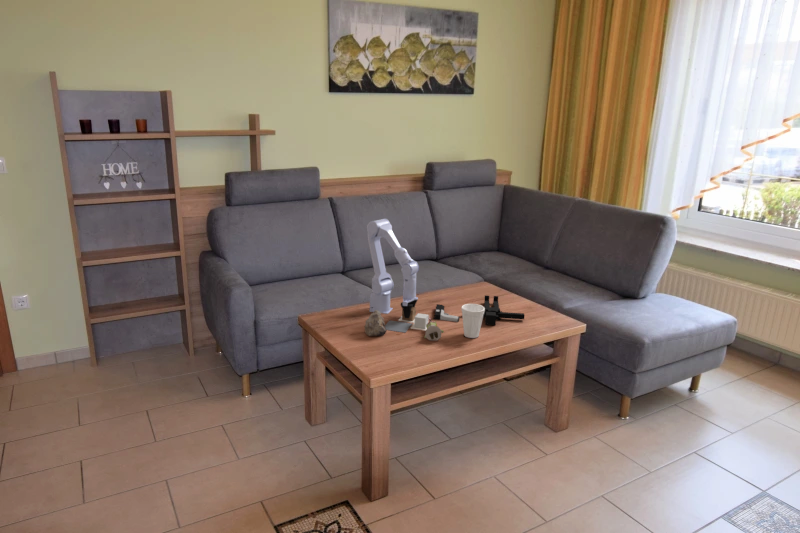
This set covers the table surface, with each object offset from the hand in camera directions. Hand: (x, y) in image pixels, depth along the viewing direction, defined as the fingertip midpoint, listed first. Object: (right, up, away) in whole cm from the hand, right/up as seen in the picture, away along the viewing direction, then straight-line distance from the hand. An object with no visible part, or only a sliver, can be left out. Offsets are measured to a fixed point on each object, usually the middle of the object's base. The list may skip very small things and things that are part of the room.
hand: (408, 315), depth 259 cm
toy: (+40, -1, +10) cm, 42 cm away
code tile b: (+5, -4, -8) cm, 11 cm away
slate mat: (-5, -4, -9) cm, 11 cm away
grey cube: (+5, -4, -8) cm, 11 cm away
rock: (-15, -7, -17) cm, 24 cm away
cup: (+27, -7, -17) cm, 32 cm away
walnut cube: (0, -1, 0) cm, 1 cm away
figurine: (+11, -8, -18) cm, 22 cm away
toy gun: (+18, -1, +6) cm, 19 cm away
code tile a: (0, -2, 0) cm, 2 cm away
